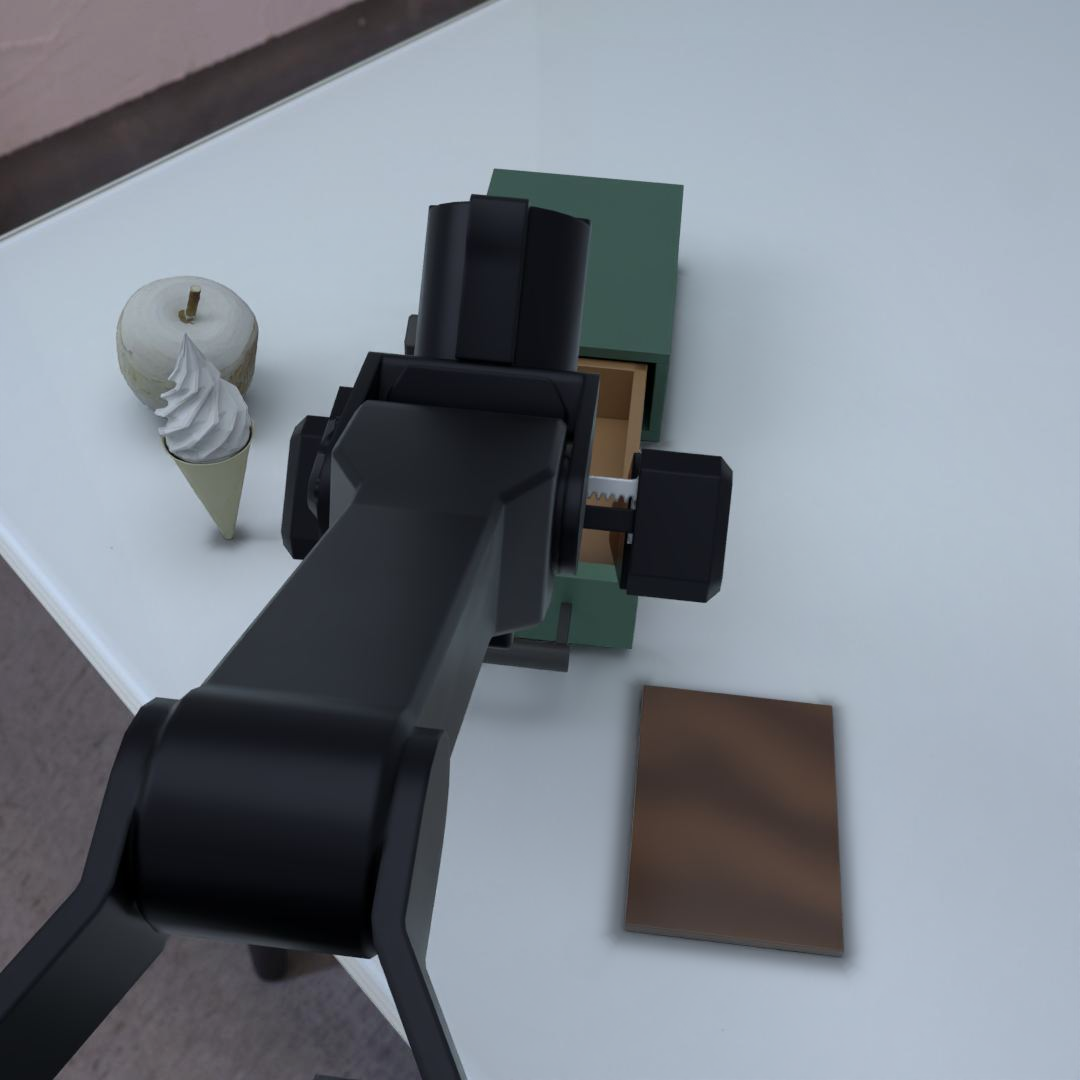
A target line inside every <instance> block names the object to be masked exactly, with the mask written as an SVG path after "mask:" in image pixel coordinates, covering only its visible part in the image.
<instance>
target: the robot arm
mask: <svg viewBox="0 0 1080 1080" xmlns="http://www.w3.org/2000/svg"><path fill="white" fill-rule="evenodd" d="M591 230H592V223H591V220H589V219H584V218H575V217H573V216H570V215H567V214H564V213H560V212H557V211H553V210H548V209H544V208H539V207H534V206H531V205H530V201H529V199H525V198H513V197H502V196H491V195H487V194H480V193H479V194H478V193H471V194H470V197H469V200H464V201H463V200H461V201H450V202H444V203H439V204H430V205H428V211H427V221H426V231H425V241H424V250H423V251H424V252H423V260H422V269H421V270H422V271H421V281H420V291H419V302H418V309H417V311H418V312H417V314H414V313H412V314H410V315H408V318H407V324H406V330H405V335H404V344H403V345H404V354H401V353H400V354H399V353H393V352H391V353H390V352H381V351H380V352H379V351H371V350H369V351H367V354H366V356H365V359H364V361H363V363H362V365H361V367H360V370H359V373H358V374H357V377H356V380H355V381H354V384H353V386H345V385H343V386H341V385H339V386H338V390H337V392H336V394H335V395H336V396H335V399H334V401H333V405H332V408H331V411H330V414H329V416H323V415H314V414H313V415H312V414H307V415H306V416H304V418H302V419H301V420H300V421H299V422H298V423H297V424H296V425H295V426H294V428H293V431H292V433H291V435H290V438H289V446H288V456H287V464H286V465H287V466H286V475H285V486H284V496H283V507H282V517H281V527H280V534H281V540H282V545H283V547H284V548H285V550H286V551H287V553H288V554H289V555H290V556H291V558H292V560H298V561H300V563H299V565H298V566H297V567H296V568H294V571H293V572H292V573H291V574H290V575H289V576H288V578H287V579H286V580H285V581H284V583H282V585H281V586H280V588H279V589H278V590H277V591H276V593H275V594H274V595H273V596H272V597H271V598H270V599H269V601H268V602H267V603H266V604H265V606H264V607H263V608H262V609H261V611H260V612H259V613H258V615H257V616H256V617H255V618H254V619H253V621H251V623H250V624H249V625H248V626H247V628H246V629H245V631H244V632H243V633H242V634H241V635H240V637H239V638H238V639H237V640H236V641H235V643H234V644H233V645H232V647H230V649H229V650H227V653H226V654H225V655H223V657H222V658H221V659H220V661H219V662H218V664H216V666H215V667H214V668H213V670H211V672H210V673H209V674H208V675H207V677H206V678H205V680H204V681H203V682H202V683H201V684H200V685H199V686H197V687H194V688H192V689H190V690H189V691H188V692H187V693H185V694H184V695H183V696H182V697H181V698H179V699H177V698H169V697H159V696H155V697H154V698H153V699H151V700H149V701H148V702H146V703H145V704H143V705H141V706H140V707H139V709H138V711H137V712H136V714H135V715H134V717H133V718H132V720H131V722H130V723H129V725H128V727H127V728H126V730H125V732H124V734H123V737H122V739H121V742H120V745H119V748H118V751H117V753H116V756H115V758H114V761H113V764H112V767H111V770H110V773H109V776H108V781H107V783H106V788H105V790H104V793H103V798H102V802H101V805H100V809H99V812H98V816H97V819H96V824H95V827H94V830H93V834H92V837H91V841H90V845H89V849H88V852H87V856H86V860H85V862H84V867H83V871H82V874H81V879H80V880H79V882H78V883H77V886H76V888H75V889H74V890H73V891H72V892H71V893H70V894H69V895H68V896H67V898H66V899H65V900H64V901H63V902H62V903H61V904H60V906H58V908H57V909H56V910H55V911H54V912H53V914H51V915H50V917H49V918H48V919H47V920H46V921H45V922H44V924H42V926H41V927H40V928H39V929H38V930H37V931H36V932H35V933H34V935H32V936H31V938H30V939H29V940H28V941H27V942H26V943H25V945H23V947H22V948H21V949H20V950H19V951H18V953H16V954H15V956H14V957H13V958H12V959H11V960H10V961H9V962H8V963H7V965H6V966H5V967H4V968H3V969H2V970H1V971H0V1080H55V1078H56V1077H57V1076H58V1075H59V1073H60V1072H61V1071H62V1070H63V1069H64V1067H65V1066H66V1065H68V1063H69V1061H71V1060H72V1059H73V1057H74V1056H75V1055H76V1054H77V1052H78V1051H79V1050H80V1049H81V1048H82V1047H83V1045H84V1044H85V1043H86V1042H87V1041H88V1039H89V1038H90V1037H91V1036H92V1035H93V1033H94V1032H96V1030H97V1029H98V1028H99V1026H100V1025H101V1024H102V1023H103V1022H104V1020H105V1019H106V1018H107V1017H108V1016H109V1015H110V1013H111V1012H112V1011H113V1010H114V1009H115V1008H116V1006H117V1005H118V1004H119V1003H120V1002H121V1001H122V1000H123V998H124V997H126V995H127V993H128V992H129V991H130V990H132V988H133V986H134V985H135V984H136V983H137V982H138V981H139V979H141V977H142V976H143V975H144V974H145V973H146V971H147V970H148V969H149V968H150V967H151V965H153V963H154V962H155V961H156V960H157V958H158V957H159V956H160V955H161V954H162V952H163V951H164V949H165V947H166V946H167V943H169V940H170V938H171V936H172V935H174V936H181V937H189V938H197V939H205V940H213V941H221V942H229V943H235V944H236V943H238V944H243V945H245V944H246V945H253V946H262V947H268V948H277V949H284V950H292V951H301V952H309V953H315V954H316V953H317V954H326V955H332V956H339V957H340V956H341V957H349V958H357V959H365V960H371V959H373V958H375V957H376V956H377V957H378V960H379V963H380V966H381V969H382V971H383V974H384V977H385V979H386V982H387V986H388V989H389V992H390V994H391V997H392V999H393V1003H394V1005H395V1008H396V1010H397V1013H398V1016H399V1019H400V1022H401V1025H402V1027H403V1031H404V1033H405V1035H406V1039H407V1043H408V1044H409V1047H410V1050H411V1052H412V1055H413V1058H414V1061H415V1064H416V1067H417V1070H418V1073H419V1075H420V1078H421V1080H469V1079H468V1076H467V1073H466V1071H465V1068H464V1066H463V1063H462V1060H461V1058H460V1054H459V1052H458V1049H457V1047H456V1044H455V1041H454V1039H453V1036H452V1034H451V1030H450V1027H449V1025H448V1023H447V1021H446V1018H445V1014H444V1012H443V1009H442V1006H441V1004H440V1000H439V999H438V996H437V993H436V991H435V988H434V985H433V983H432V980H431V977H430V973H429V972H428V969H427V953H428V945H429V939H430V932H431V927H432V922H433V921H432V920H433V914H434V907H435V902H436V895H437V888H438V881H439V876H440V868H441V864H442V863H441V862H442V856H443V855H442V854H443V848H444V839H445V833H446V832H445V831H446V824H447V815H448V804H449V795H450V794H449V793H450V779H451V778H450V777H451V776H450V773H451V757H452V755H453V752H454V749H455V746H456V743H457V740H458V737H459V733H460V731H461V728H462V725H463V722H464V719H465V716H466V713H467V710H468V707H469V704H470V702H471V698H472V695H473V693H474V689H475V686H476V684H477V680H478V678H479V674H480V671H481V668H482V665H483V663H482V662H483V659H484V656H485V653H486V650H487V648H496V649H505V650H507V649H510V648H511V647H512V644H513V639H515V637H514V632H516V631H521V630H525V629H530V628H534V627H536V626H537V625H538V624H540V623H541V622H542V621H543V620H544V618H545V615H546V612H547V609H548V607H549V604H550V601H551V597H552V592H553V587H554V580H555V574H562V575H572V576H576V574H577V569H578V562H579V555H580V547H581V539H582V531H583V528H584V529H593V530H603V531H610V532H609V543H610V548H611V552H612V557H613V561H614V566H615V570H616V575H617V579H618V584H619V588H620V589H622V590H627V591H626V595H633V596H639V597H643V598H654V599H662V600H672V601H681V602H690V603H700V604H707V603H708V602H709V601H710V600H711V599H713V598H714V597H715V596H716V595H717V594H719V593H720V592H721V590H722V589H721V588H722V583H723V577H724V569H725V559H726V551H727V550H726V549H727V540H728V530H729V523H730V522H729V521H730V520H729V519H730V513H731V503H732V494H733V482H734V481H733V480H734V477H733V476H734V471H733V469H732V468H731V466H729V464H728V462H726V460H725V459H724V458H723V456H721V455H711V454H704V453H703V454H702V453H693V452H692V453H691V452H682V451H671V450H663V449H652V448H644V447H643V448H641V450H640V452H639V453H634V454H633V458H632V462H631V466H630V470H629V474H628V478H627V479H621V478H611V477H601V476H591V475H590V466H591V458H592V450H593V442H594V433H595V424H596V414H597V404H598V395H599V385H600V374H599V373H589V372H578V371H577V365H578V355H579V346H580V336H581V327H582V317H583V307H584V298H585V288H586V278H587V269H588V259H589V249H590V240H591ZM593 493H595V496H596V500H600V498H601V495H602V494H604V495H605V499H606V501H609V499H610V497H611V495H614V499H615V501H614V502H613V504H612V507H604V506H594V505H586V499H590V498H591V496H592V494H593ZM312 1080H360V1079H358V1078H350V1077H343V1076H337V1075H329V1074H320V1073H316V1074H315V1075H314V1077H313V1079H312Z"/></svg>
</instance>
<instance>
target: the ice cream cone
mask: <svg viewBox="0 0 1080 1080" xmlns="http://www.w3.org/2000/svg"><path fill="white" fill-rule="evenodd" d="M174 369H175V370H174V371H173V373H172V374H171V375H170V376H169V378H168V380H169V381H175V382H176V383H177V385H176V387H175V388H174V389H172V390H170V391H168V392H166V393H163V394H161V397H160V398H163V399H166V400H167V401H168V406H166V407H165V408H161V409H156V411H155V412H154V415H155V416H156V417H161V418H165V417H166V418H165V419H167V422H166V424H165V426H162V427H158V431H157V433H158V434H159V435H160V443H161V444H160V445H161V446H162V449H163V450H164V452H165V453H166V454H167V455H168V456H169V457H170V458H171V459H172V460H173V461H174V463H175V465H176V466H177V467H178V469H179V471H180V472H181V473H182V475H183V476H184V478H185V479H186V481H187V483H188V484H189V486H190V488H191V489H192V491H193V492H194V493H195V495H196V496H197V498H198V500H199V501H200V503H201V504H202V505H203V508H204V509H205V510H206V511H207V513H208V514H209V516H210V517H211V519H212V520H213V522H214V523H215V525H216V527H217V528H218V529H219V531H220V532H221V534H222V535H223V537H224V538H225V539H226V540H232V539H233V538H234V536H235V530H236V525H237V521H238V515H239V509H240V503H241V497H242V493H243V487H244V482H245V477H246V471H247V468H248V467H247V466H248V459H249V454H250V449H251V444H252V442H253V440H254V438H255V434H256V433H255V432H256V427H255V424H254V421H253V419H252V418H251V417H250V415H249V412H248V411H249V410H248V409H249V407H248V405H247V403H246V401H245V400H244V397H242V396H241V394H240V392H239V390H238V388H237V387H236V386H235V385H233V384H231V383H229V382H227V381H225V380H223V379H221V378H220V374H221V373H220V372H219V371H218V370H217V369H216V368H215V367H214V365H213V363H212V362H210V361H209V360H207V359H206V357H205V356H204V355H203V354H202V353H201V351H200V350H199V349H198V348H197V346H196V345H195V344H194V343H193V342H192V340H191V339H190V338H189V337H188V335H187V333H185V334H184V338H183V342H182V345H181V349H180V352H179V355H178V359H177V362H176V364H175V367H174Z"/></svg>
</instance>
